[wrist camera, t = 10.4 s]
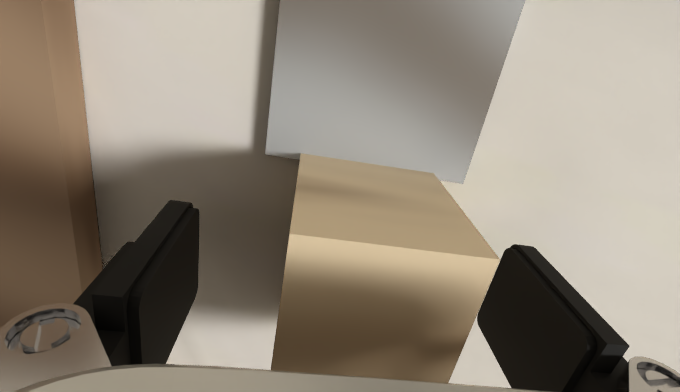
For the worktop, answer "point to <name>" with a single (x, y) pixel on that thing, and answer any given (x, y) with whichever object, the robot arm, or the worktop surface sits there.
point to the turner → (382, 180)
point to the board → (43, 160)
